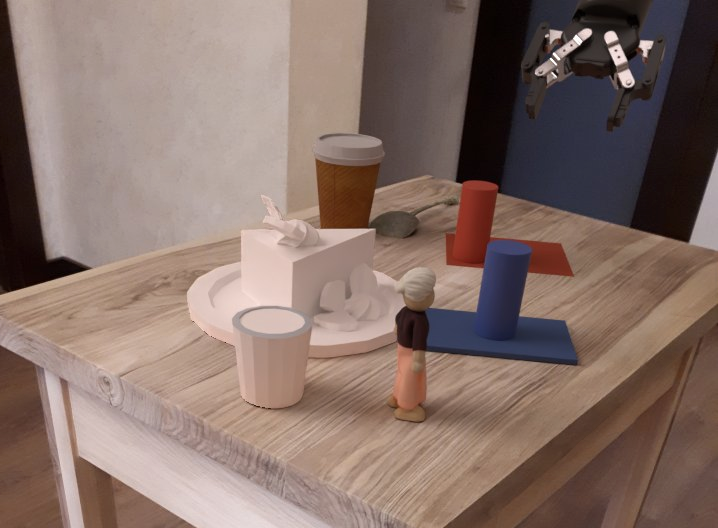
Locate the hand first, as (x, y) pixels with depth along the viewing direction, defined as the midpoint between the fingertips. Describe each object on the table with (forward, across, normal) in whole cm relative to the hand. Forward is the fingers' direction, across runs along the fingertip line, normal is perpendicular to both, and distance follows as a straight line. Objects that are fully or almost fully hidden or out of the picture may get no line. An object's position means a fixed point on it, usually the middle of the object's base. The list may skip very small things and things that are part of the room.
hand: (570, 120), depth 85 cm
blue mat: (+25, 0, +2) cm, 25 cm away
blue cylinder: (+24, 0, +2) cm, 24 cm away
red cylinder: (+10, -10, +16) cm, 21 cm away
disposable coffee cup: (+10, -28, +17) cm, 35 cm away
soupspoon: (+2, -22, +25) cm, 33 cm away
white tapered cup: (+42, -13, -15) cm, 46 cm away
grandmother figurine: (+38, -2, -12) cm, 40 cm away
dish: (+28, -20, -2) cm, 35 cm away
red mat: (+7, -7, +20) cm, 22 cm away
